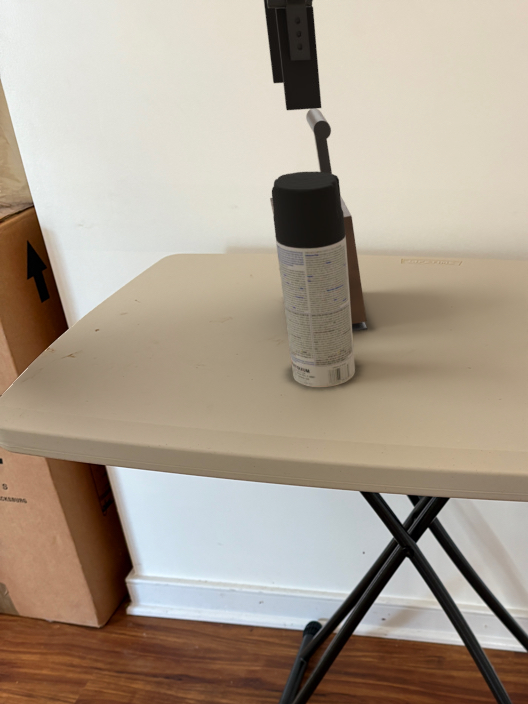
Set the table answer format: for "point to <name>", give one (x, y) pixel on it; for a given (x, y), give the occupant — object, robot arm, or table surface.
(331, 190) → the spray can
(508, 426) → the table surface
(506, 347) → the table surface
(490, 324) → the table surface
